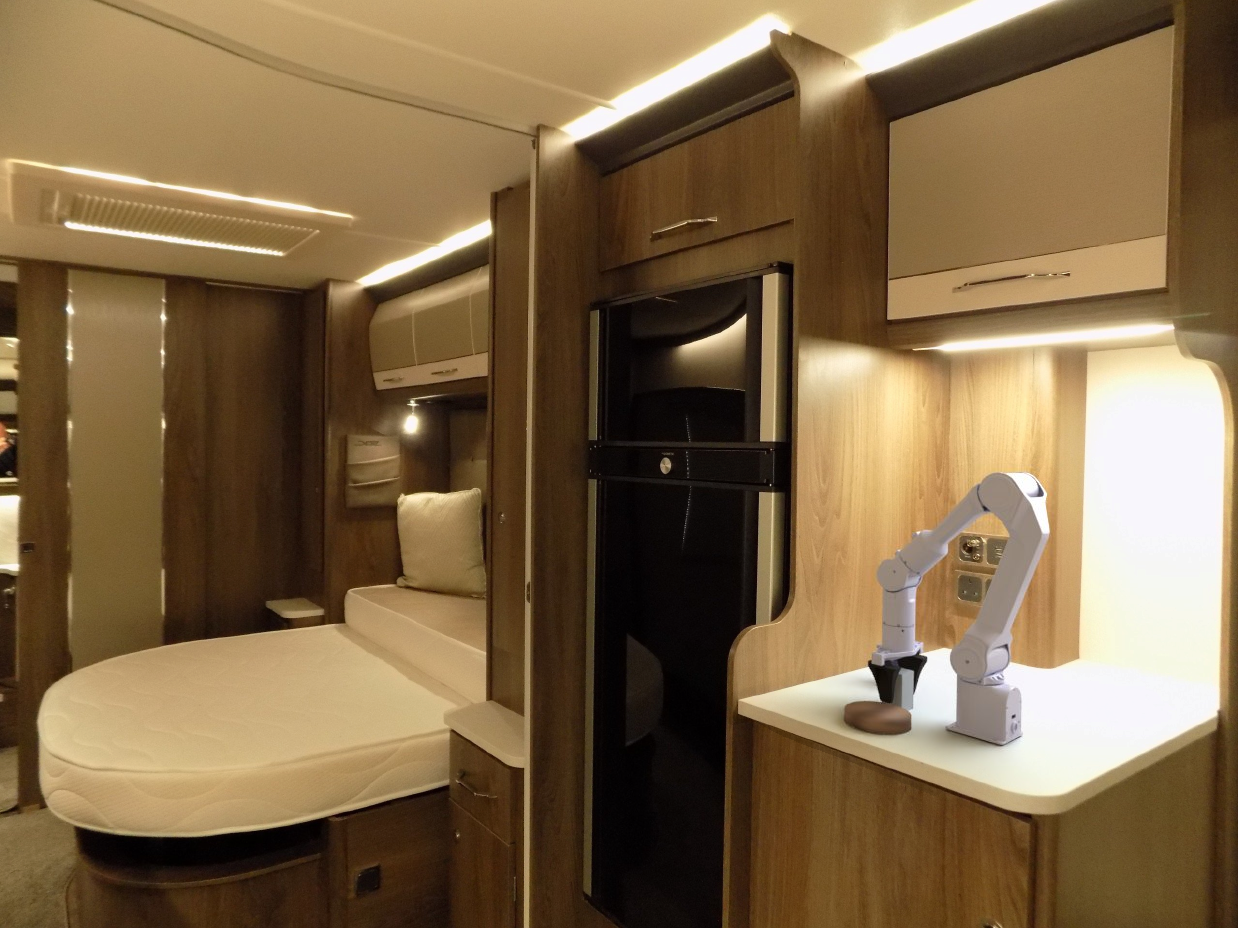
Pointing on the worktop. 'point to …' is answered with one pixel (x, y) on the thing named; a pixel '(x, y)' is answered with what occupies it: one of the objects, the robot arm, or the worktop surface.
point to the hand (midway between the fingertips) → (897, 697)
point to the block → (904, 689)
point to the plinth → (877, 717)
